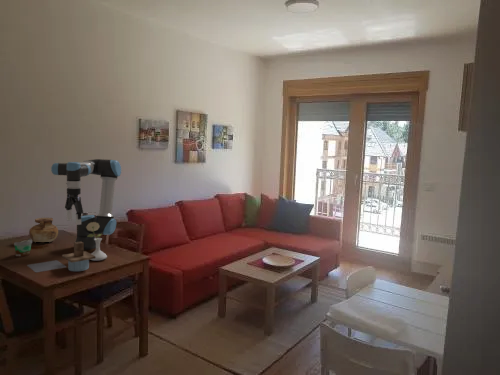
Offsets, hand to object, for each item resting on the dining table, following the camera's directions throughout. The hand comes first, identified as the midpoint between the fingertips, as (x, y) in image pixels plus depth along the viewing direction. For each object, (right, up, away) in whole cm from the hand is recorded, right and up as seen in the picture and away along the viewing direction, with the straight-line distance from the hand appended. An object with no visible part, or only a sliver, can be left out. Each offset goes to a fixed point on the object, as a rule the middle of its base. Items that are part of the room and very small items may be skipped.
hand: (73, 222), depth 227 cm
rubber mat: (-16, -27, -1) cm, 31 cm away
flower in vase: (+6, -26, +18) cm, 32 cm away
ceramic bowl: (+4, -28, -2) cm, 28 cm away
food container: (-40, -24, +18) cm, 50 cm away
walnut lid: (+4, -21, -3) cm, 21 cm away
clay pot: (-47, -20, +52) cm, 73 cm away
